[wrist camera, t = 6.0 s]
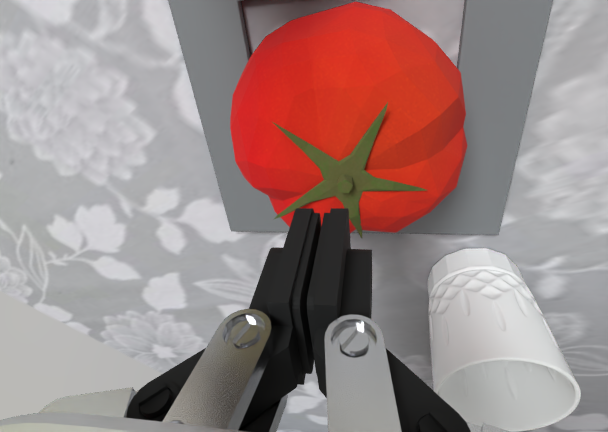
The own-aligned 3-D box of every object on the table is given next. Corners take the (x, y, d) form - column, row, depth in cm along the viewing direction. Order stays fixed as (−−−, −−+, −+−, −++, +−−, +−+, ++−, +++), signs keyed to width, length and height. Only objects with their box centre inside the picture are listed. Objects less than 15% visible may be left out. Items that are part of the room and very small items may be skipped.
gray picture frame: (581, -148, 16) (587, -151, 16) (496, 229, 28) (498, 234, 27) (151, -80, 20) (146, -81, 19) (233, 226, 31) (231, 231, 31)
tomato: (238, 140, 27) (175, 230, 18) (293, -47, 20) (231, -37, 12) (393, 203, 28) (399, 316, 19) (495, 47, 21) (571, 118, 13)
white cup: (547, 283, 30) (609, 411, 22) (459, 324, 34) (483, 443, 26) (486, 222, 27) (530, 340, 19) (400, 273, 32) (406, 387, 24)
